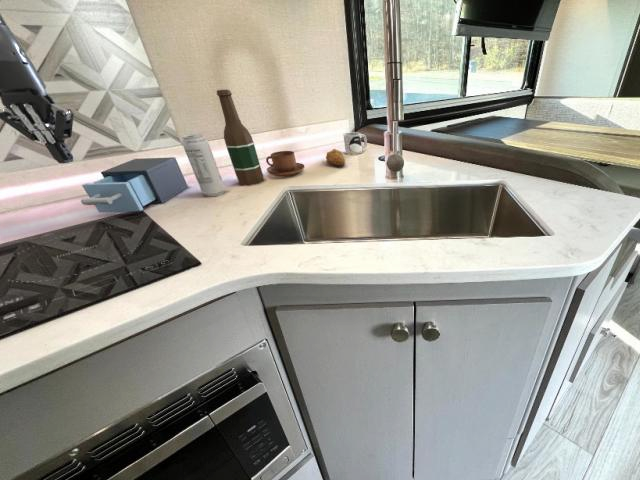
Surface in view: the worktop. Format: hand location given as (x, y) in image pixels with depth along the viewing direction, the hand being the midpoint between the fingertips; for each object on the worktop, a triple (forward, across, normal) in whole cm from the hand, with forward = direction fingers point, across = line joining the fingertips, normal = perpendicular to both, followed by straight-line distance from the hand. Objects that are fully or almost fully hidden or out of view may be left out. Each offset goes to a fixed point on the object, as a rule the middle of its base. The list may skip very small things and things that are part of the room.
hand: (66, 162), depth 66 cm
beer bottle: (+14, +24, +30) cm, 41 cm away
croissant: (+14, +48, +47) cm, 69 cm away
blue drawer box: (+14, 0, +20) cm, 24 cm away
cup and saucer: (+14, +33, +38) cm, 52 cm away
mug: (+14, +55, +65) cm, 86 cm away
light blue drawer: (+13, 0, +9) cm, 16 cm away
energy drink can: (+14, +17, +20) cm, 30 cm away
